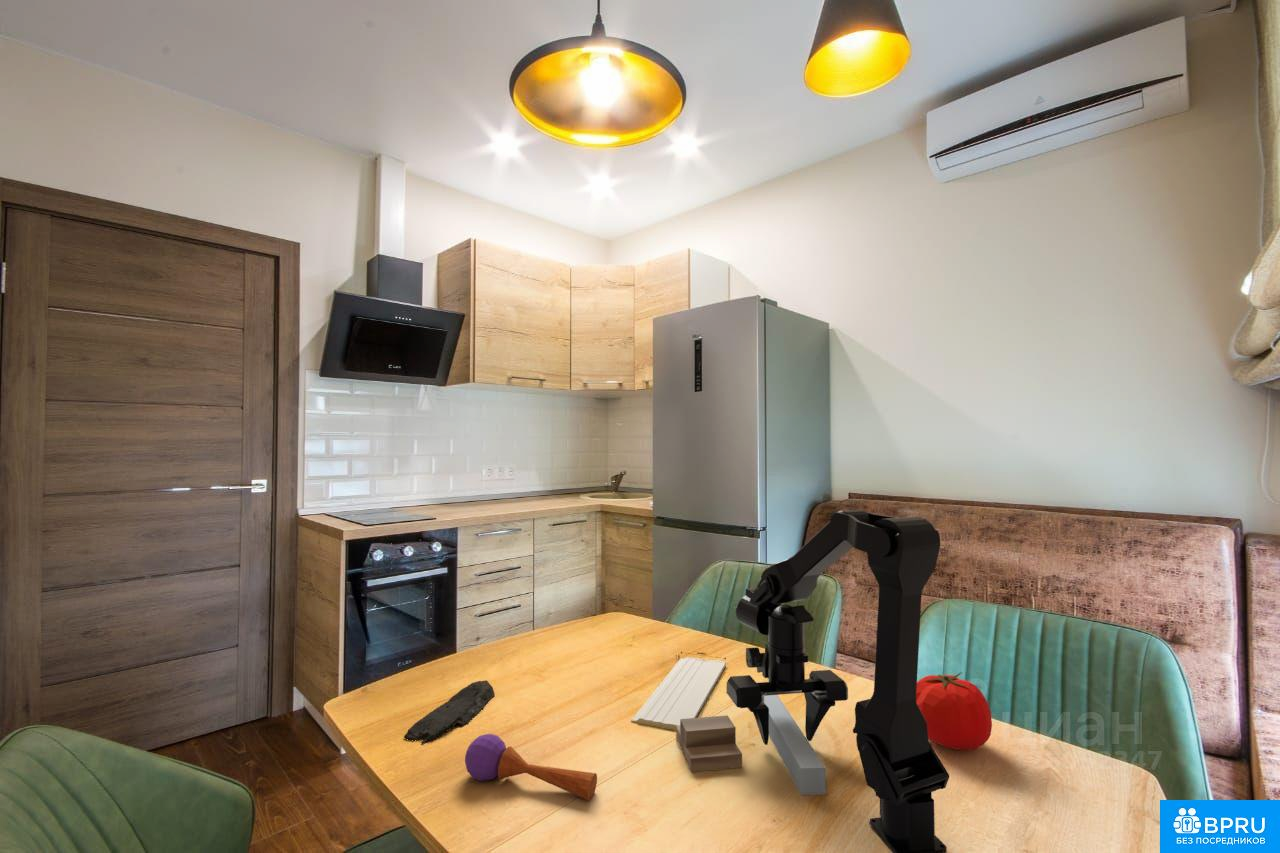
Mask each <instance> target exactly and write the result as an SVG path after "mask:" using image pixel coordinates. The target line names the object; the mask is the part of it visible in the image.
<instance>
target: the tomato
mask: <svg viewBox="0 0 1280 853" xmlns="http://www.w3.org/2000/svg"><path fill="white" fill-rule="evenodd" d="M962 673H963V672H962V671H961V672H959V673H958V674H957V673H956V675H954V674H953V675H951V674H943V675H942V674H938V675H934V674H933V675H932V674H931V675H927V676H924V677H922V678H920V679H918V680H917V689H916V703H917V705H918V707H919V708H920V710H921V712H922V714H923V716H924V718H925V720H926V722H927V730H928V740H930V741H932V742H935V743H936V744H939V745H941V746H943V747H944V748H948V749H953V750H962V751H963V750H964V751H971V750H972V751H973V750H976V749H978V748H980V747H983V746H984V745H985V744H986V743H987V742H988V741H989V739H990V736H991V734H992V728H993V721H992V720H993V719H992V714H991V709H990V706H989V703H988V700H987V698H986V697H985V695H984V694H983V692H982V691H981V690H980V689H979V687H978V686H977V685H976V684H973V683H972V682H970V681H968V680H966V679H965V680H964V679H959V678H958V677H959V676H961V674H962Z"/></svg>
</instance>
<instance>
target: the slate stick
mask: <svg viewBox="0 0 1280 853" xmlns="http://www.w3.org/2000/svg"><path fill="white" fill-rule="evenodd" d="M779 696H780V695H766V696H764V703H765V704H766V706H767V707H768V708H769V738H770V740H771V742H772V744H773V745H774V747H775V749H776V751H777V753H778V755H779V756H780V759H781V760H782V762H783V764H784V766H785V767H786V769H787V771H788V773H789V775H790V776H791V779H792V781H793V782H794V785H795V786H796V788H797V789H798V792H799V793H800V795H801V796H810V795H811V796H814V795H815V796H816V795H827V788H826V787H827V785H826V784H827V781H826V777H827V774H826V771H827V770H826V766H825V765H824V763H823V762H822V759H821V758H820V757H819V755H818V754H817V753H816V751H815V750H814V748H813V746H812V745H811V743H810V741H808V740H807V738H806V735H805V734H804V733H803V731H802V730H801V728H800V726H798V724H797V722H796V720H795V719H794V717H793V716H792V715H791V713H790V712H789V710H788V708H787V707H786V706H785V703H784V702H783V701H782V700H781V698H780V697H779Z"/></svg>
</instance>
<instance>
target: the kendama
mask: <svg viewBox="0 0 1280 853" xmlns="http://www.w3.org/2000/svg"><path fill="white" fill-rule="evenodd" d="M464 762H465V767H466V768H465V769H466V771H467V773H468V774H470V776H471V777H472V778H473V779H474V780H477V781H480V782H485V781H490V780H492V779H493V780H494V779H495V778H496V777H498V779H499V780H502V779H506V778H510V777H514V776H517V775H518V776H519V775H523V774H527V775H529V776H532V777H535V778H537V779H538V780H541V781H544V782H545V783H547V784H550V785H552V786H554V787H556V788H559V789H560V790H564V791H566V792H568V793H570V794H572V795H575V796H577V797H578V798H581V799H583V800H585V801H589V802H590V801H591V799H592V797H593V796H594V794H595V792H596V789H597V785H598V784H597V783H598V774H597V773H596V772H589V771H582V770H581V771H580V770H576V769H575V770H574V769H566V768H559V767H551V766H544V765H536V764H532V763H531V764H529V763H528V762H527V761H526V760H525V759H524V758H523V757H522V756H521V755H520V753H518V752H517V751H516V750H515V749H514V747H513V746H510V745H509V746H507V747H506V743H505V742H504V741H503V739H501V737H499V736H498V735H496V734H493V733H486V734H482V735H479V736H478V737H476V738H475V739H474V740H473V741H471V743H470V744H469V746H468V747H467V750H466V752H465V756H464Z"/></svg>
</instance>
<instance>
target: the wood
mask: <svg viewBox="0 0 1280 853" xmlns="http://www.w3.org/2000/svg"><path fill="white" fill-rule="evenodd" d="M494 697H495V690H494V688H493V686H492V685H491V683H490V682H489V681H488V680H478V681H474V682H471V683H469V684H468V685H466V686H465V687H463V688H462V689H460V690H459V691H458V692H456V693H455V694H453V695H452V696H451V697H450V698H449V699H448V700H447V701H445V702H444V703H443V704H441V705H440V706H438V707H436V708H434V709H433V710H432V711H431V712H429V713H428V714H426V715H425V716H423V718H421V719H418V720H417V721H416V722H415V723H414V724H412V726H411V727H409V728H408V729H407V732H406V733H405V734H404V735H403V738H404V739H405V738H406V739H408V740H413V741H415V740H417V741H419V740H420V739H423V741H422V740H421V741H422V742H421V743H422V744H421V745H424V744H425V743H426V742H429V741H428V740H431V741H433V740H436V739H437V738H439V737H442V736H443V735H444V734H446V733H447V732H448V731H450V730H451V729H452V728H453V727H454V726H456V725H458V726H461V727H463V726H465V724H466V725H468V724H469V723H471V721H472V720H473V719H474V718H475V717H477V714H478V715H479V714H480V713H481V712H482V711H483V709H484V710H485V707H484V706H486V705H487V703H488V702H489V701H490V700H491V699H492V698H494ZM481 710H482V711H481ZM480 711H481V712H480ZM479 712H480V713H479ZM474 716H475V717H474ZM473 717H474V718H473ZM472 718H473V719H472ZM470 720H471V721H470ZM455 724H456V725H455ZM452 726H453V727H452ZM451 727H452V728H451ZM450 728H451V729H450ZM449 729H450V730H449ZM446 731H447V732H446ZM445 732H446V733H445ZM443 733H444V734H443ZM442 734H443V735H442ZM441 735H442V736H441ZM436 737H437V738H436ZM406 739H405V740H406ZM418 739H419V740H418ZM413 741H412V742H413ZM415 742H416V741H415Z"/></svg>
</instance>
